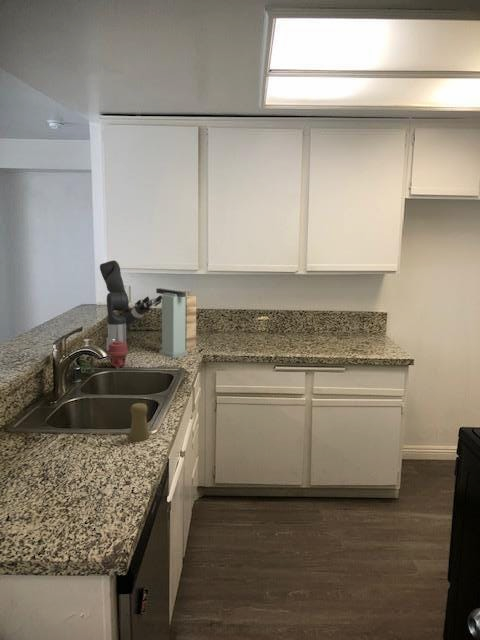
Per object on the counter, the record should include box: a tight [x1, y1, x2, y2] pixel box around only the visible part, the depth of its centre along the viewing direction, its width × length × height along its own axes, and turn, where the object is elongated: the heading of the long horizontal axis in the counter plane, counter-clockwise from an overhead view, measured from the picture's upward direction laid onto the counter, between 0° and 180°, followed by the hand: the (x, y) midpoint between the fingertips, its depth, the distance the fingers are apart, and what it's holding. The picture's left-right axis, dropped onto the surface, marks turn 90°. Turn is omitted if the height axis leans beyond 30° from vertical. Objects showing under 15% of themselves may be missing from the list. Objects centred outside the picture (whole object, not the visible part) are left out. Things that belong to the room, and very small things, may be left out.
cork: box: [129, 402, 150, 443], centre depth 151 cm, size 6×6×11 cm
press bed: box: [185, 294, 197, 351], centre depth 273 cm, size 10×7×30 cm
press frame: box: [158, 293, 189, 359], centre depth 257 cm, size 12×10×33 cm
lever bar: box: [155, 287, 187, 297], centre depth 256 cm, size 22×2×2 cm, turn 46°
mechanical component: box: [106, 341, 129, 369], centre depth 232 cm, size 12×10×10 cm
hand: (154, 297), depth 267 cm, fingers open, 8 cm apart
